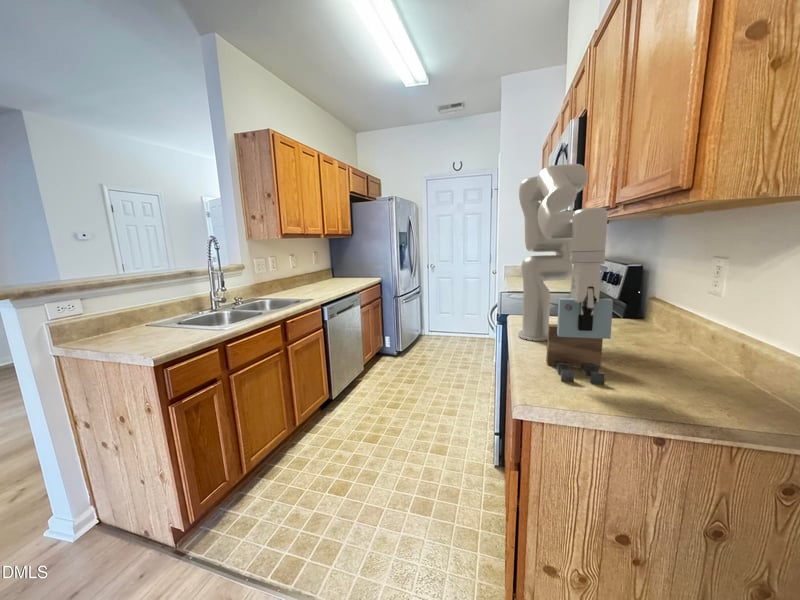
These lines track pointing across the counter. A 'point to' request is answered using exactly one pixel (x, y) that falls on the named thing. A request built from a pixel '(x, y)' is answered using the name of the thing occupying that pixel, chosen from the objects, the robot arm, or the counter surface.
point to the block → (571, 312)
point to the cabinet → (572, 349)
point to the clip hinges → (588, 369)
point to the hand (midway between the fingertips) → (583, 328)
